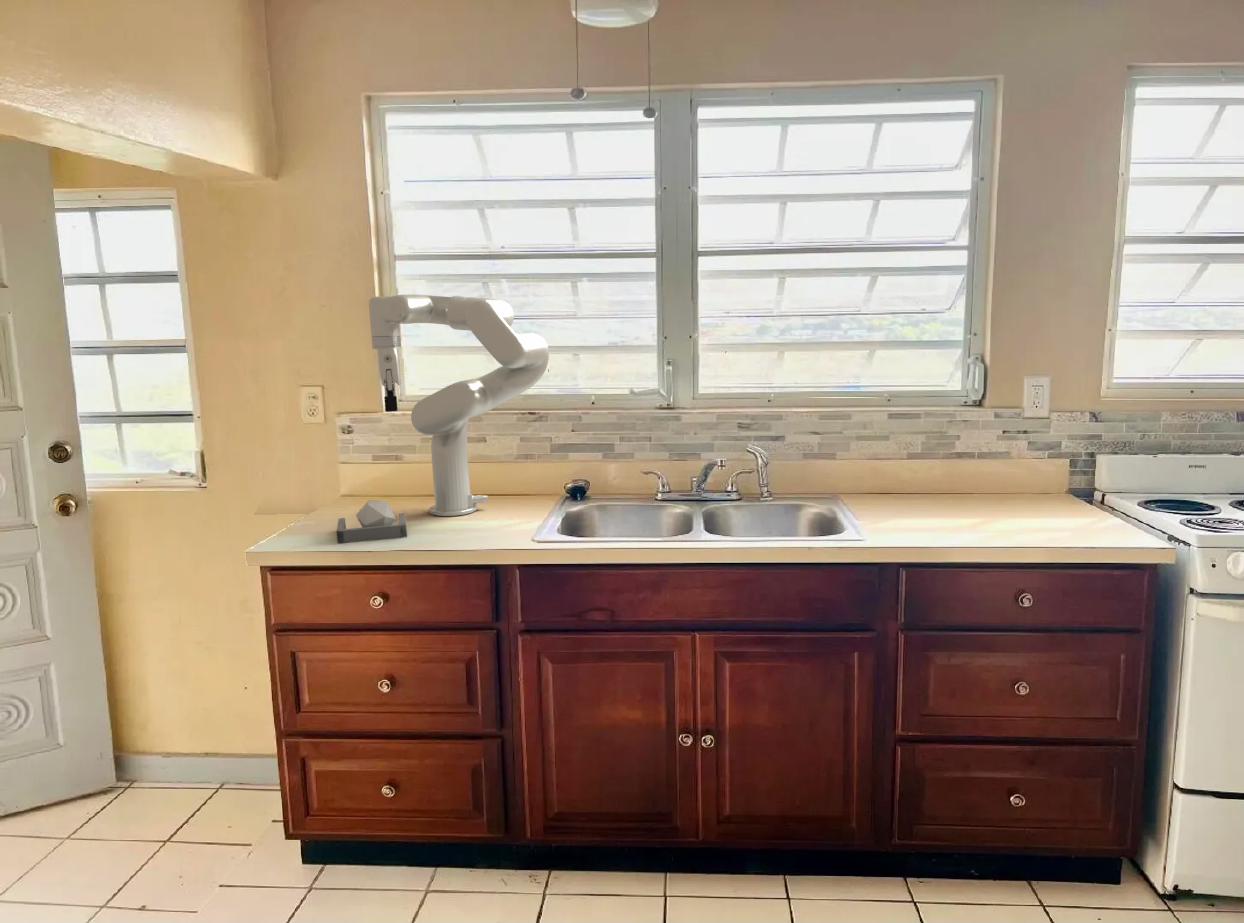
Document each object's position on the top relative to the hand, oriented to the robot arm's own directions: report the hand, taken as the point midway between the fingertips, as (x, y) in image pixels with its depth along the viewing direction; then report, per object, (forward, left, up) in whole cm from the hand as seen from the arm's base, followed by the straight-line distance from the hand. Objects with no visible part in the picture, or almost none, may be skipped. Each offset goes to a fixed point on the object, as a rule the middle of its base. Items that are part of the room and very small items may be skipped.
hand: (391, 411), depth 228 cm
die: (+6, +25, -27) cm, 37 cm away
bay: (+7, +26, -27) cm, 38 cm away
